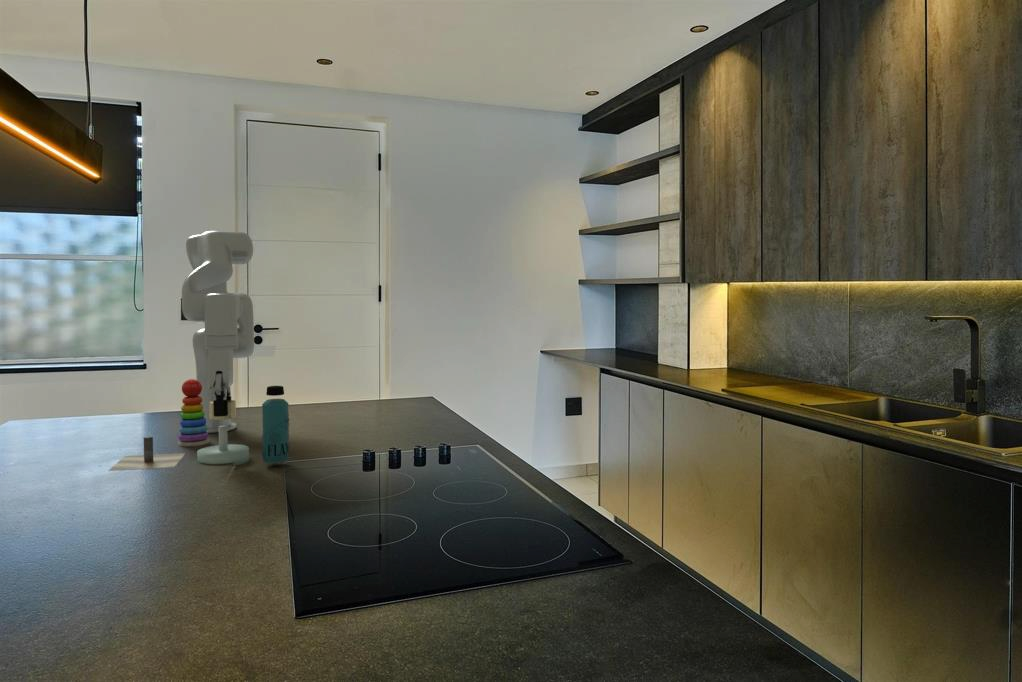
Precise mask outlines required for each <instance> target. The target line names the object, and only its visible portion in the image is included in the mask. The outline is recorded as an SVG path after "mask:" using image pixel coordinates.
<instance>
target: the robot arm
mask: <svg viewBox="0 0 1022 682" xmlns="http://www.w3.org/2000/svg"><path fill="white" fill-rule="evenodd" d="M253 245H254V244H253V241H252V238H251V236H250V235H249V234H248V233H245V232H243V231H230V230H229V231H228V230H227V231H225V230H209V231H204V232H203V233H201V234H195V235H191V236H189V237H188V238H187V239H186V242H185V248H186V254H187V258H188V261H189V263H190V265H191V268H192V270H193V271H192V272H190V273H189V274H188V276H186V278H185V279H184V281H183V284H182V287H181V310H182V315H183V316H184V318H185V319H186V320H188V321H189V322H194V323H196V322H199V323H200V322H202V323H204V328H201V329H198V330H196V331H195V332H194V333H193V336H192V348H193V354H194V360H195V371H196V380H197V381H199V382H200V383H201V385H202V391H201V393H200V394H199V395H198V396H200V397H202V402H201V403H200V404H202V405H203V409H202V411H204V413H205V415H204V418H205V419H206V425H207V431H206V432H207V433H208V434H212V433H219V426H227V432H229V431H232V430H234V429H236V428H237V423H236V422H233V421H232V419H222V420H214V419H209V402H211V401H213V407H214V416H215V417H218V416H227V415H228V400H232V395H231V394H232V393H231V387H232V385H233V383H234V359H242V358H243V359H244V358H249V357H250V356H252V355H253V353H254V350H255V328H254V327H255V325H254V305H253V300H252V298H251V296H250V295H248V294H246V293H243V292H228V290H227V289H228V287H227V285H228V283H227V282H228V281H229V280H230V279H231V277H232V276H233V273H234V272H233V271H234V269H233V265H246V264H247V263H250V261H251V260H252V257H253V253H254V246H253Z"/></svg>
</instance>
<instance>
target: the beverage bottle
mask: <svg viewBox="0 0 1022 682" xmlns="http://www.w3.org/2000/svg"><path fill="white" fill-rule="evenodd" d="M283 395H285V390H284V386H283V385H269V386H267V387H266V396H272V397H273V396H274V397H275V396H278V397H279V396H283ZM289 405H290V404H289V402H288V401H287V400H285V399H284V398H269V399H266V401H264V402H262V404H261V408H262V411H261V412H262V454H261V457H262V461H263V462H264V463H268V464H275V463H276V464H277V463H282V462H283V463H284V462H287V461H288V460H289V458H290V434H289V433H290V428H289V427H290V418H289V415H290V414H289Z"/></svg>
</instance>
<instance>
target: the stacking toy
mask: <svg viewBox="0 0 1022 682" xmlns="http://www.w3.org/2000/svg"><path fill="white" fill-rule="evenodd" d="M201 391H202V385H201V383H200V382H199V381H197V379H194V378H191V379H187V380H186V381H185V380H184V382H183V384H182V385H181V392H182V395H184V397H183V398H182V404H183V405H181V407H180V409H181V411H182V412H181V413H180V418H181V420H180V422H179V425H181V426H180V427H179V432H180V433H179V434H178V440H179V441H178V442H177V445H178V446H180V447H196V446H197V447H199V446H203V445H207V444H209V443H210V439H209V438H208V437H209V433H207V432H206V431H207V425H206V419H205V418H204V415H205V413H204V411H202V409H203V405H202V404H200V403H201V402H202V397H200V396H198V395H199V394H200V393H201Z"/></svg>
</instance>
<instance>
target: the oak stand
mask: <svg viewBox="0 0 1022 682" xmlns="http://www.w3.org/2000/svg"><path fill="white" fill-rule="evenodd" d="M185 455H186V452H183V453H182V452H180V453H163V454H154V437H153V436H144V437H143V454H141V455H124V456H123V457H122V458H121V459H120V460H119V461H118V462H116V463H115V464H114V465H113V466H111V468H109V469H108V470H107V471H108V472H112V471H132V470H146V469H148V470H149V469H150V470H151V469H163V468H164V469H166V468H167V469H169V468H170V469H171V468H175V467H176V466H177V465H178V463H179V462H180V461H181V460H182V458H184V456H185Z"/></svg>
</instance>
